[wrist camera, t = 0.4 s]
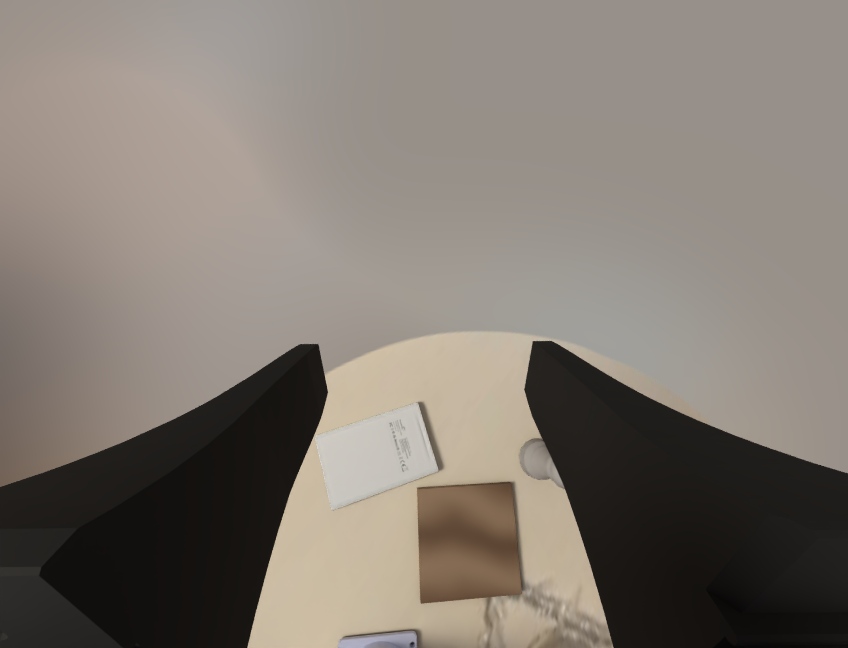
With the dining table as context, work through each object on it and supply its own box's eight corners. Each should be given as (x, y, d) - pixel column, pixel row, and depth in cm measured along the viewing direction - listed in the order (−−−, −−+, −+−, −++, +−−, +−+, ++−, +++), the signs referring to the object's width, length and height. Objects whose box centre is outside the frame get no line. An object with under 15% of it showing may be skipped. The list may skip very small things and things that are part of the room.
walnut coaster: (519, 590, 34) (521, 593, 33) (420, 600, 33) (420, 603, 32) (509, 481, 36) (511, 483, 36) (417, 487, 36) (417, 489, 35)
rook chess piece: (532, 485, 37) (568, 509, 29) (510, 452, 37) (539, 467, 29) (560, 462, 37) (602, 479, 30) (538, 430, 38) (573, 439, 30)
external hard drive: (318, 434, 37) (417, 401, 38) (334, 506, 35) (437, 469, 37) (314, 436, 35) (418, 401, 37) (331, 511, 33) (439, 472, 35)
